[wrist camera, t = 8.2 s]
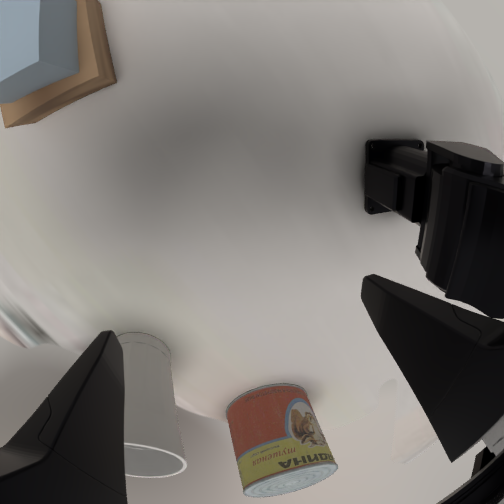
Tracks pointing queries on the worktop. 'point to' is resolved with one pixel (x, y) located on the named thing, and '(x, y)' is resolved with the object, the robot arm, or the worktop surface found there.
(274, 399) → the canned food
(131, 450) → the cup
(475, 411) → the robot arm
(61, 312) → the worktop surface
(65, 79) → the walnut block
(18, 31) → the cube
